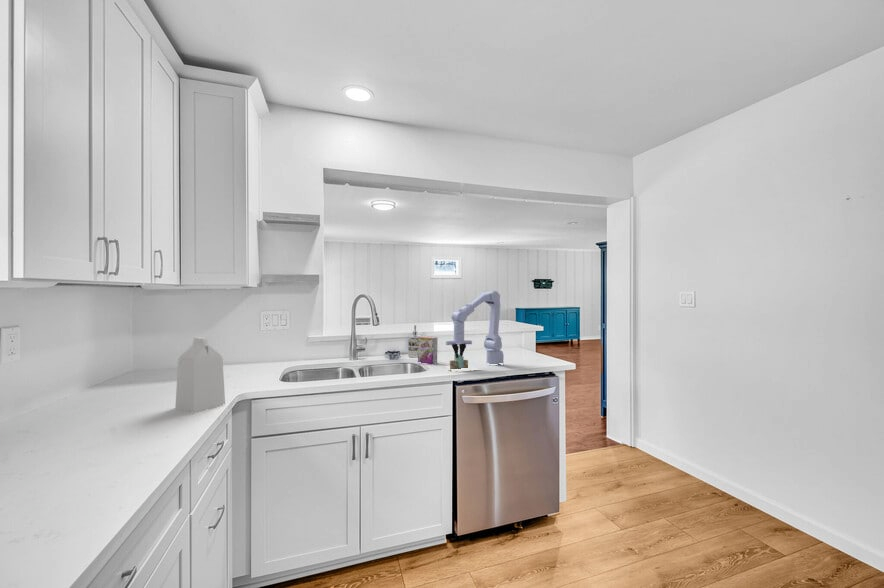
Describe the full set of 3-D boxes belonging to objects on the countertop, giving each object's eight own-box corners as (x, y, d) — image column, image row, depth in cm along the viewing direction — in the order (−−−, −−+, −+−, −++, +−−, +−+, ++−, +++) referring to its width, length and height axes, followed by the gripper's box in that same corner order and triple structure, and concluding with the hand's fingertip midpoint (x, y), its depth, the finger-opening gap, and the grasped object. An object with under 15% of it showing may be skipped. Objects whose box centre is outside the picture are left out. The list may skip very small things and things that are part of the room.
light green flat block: (457, 364, 211) (457, 353, 211) (463, 368, 202) (463, 356, 201) (454, 364, 211) (454, 353, 210) (460, 368, 201) (460, 357, 201)
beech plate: (466, 368, 208) (466, 359, 208) (467, 369, 207) (467, 360, 207) (449, 369, 206) (449, 360, 205) (450, 370, 204) (450, 361, 204)
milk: (175, 408, 140) (175, 338, 140) (206, 400, 150) (206, 335, 150) (193, 413, 134) (193, 341, 134) (225, 404, 145) (225, 337, 144)
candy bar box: (417, 363, 225) (417, 336, 224) (422, 362, 229) (422, 335, 229) (433, 366, 219) (433, 338, 218) (437, 364, 223) (437, 337, 223)
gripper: (448, 334, 200) (448, 359, 200) (474, 333, 204) (473, 358, 204) (444, 332, 207) (444, 357, 207) (469, 332, 211) (469, 356, 211)
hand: (458, 357), depth 206 cm, fingers closed on light green flat block, 2 cm apart
